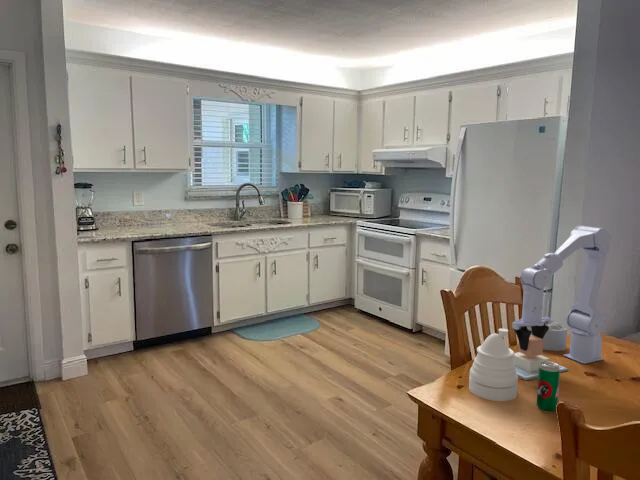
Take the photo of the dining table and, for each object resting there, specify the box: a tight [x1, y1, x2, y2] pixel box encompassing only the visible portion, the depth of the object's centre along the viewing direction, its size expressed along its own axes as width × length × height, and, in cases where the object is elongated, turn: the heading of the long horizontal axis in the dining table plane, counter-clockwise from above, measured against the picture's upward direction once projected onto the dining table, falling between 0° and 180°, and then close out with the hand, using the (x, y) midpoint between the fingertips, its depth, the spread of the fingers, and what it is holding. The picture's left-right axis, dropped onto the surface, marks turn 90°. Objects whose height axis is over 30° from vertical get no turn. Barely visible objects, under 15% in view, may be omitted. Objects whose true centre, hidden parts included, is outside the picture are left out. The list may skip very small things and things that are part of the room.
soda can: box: [535, 361, 561, 413], centre depth 127 cm, size 5×5×12 cm
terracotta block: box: [517, 335, 544, 357], centre depth 154 cm, size 5×5×5 cm
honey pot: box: [468, 328, 519, 402], centre depth 137 cm, size 13×13×18 cm
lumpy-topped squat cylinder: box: [527, 318, 568, 352], centre depth 175 cm, size 10×13×9 cm
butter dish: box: [512, 351, 569, 381], centre depth 155 cm, size 18×14×4 cm
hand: (529, 348), depth 154 cm, fingers closed on terracotta block, 5 cm apart
